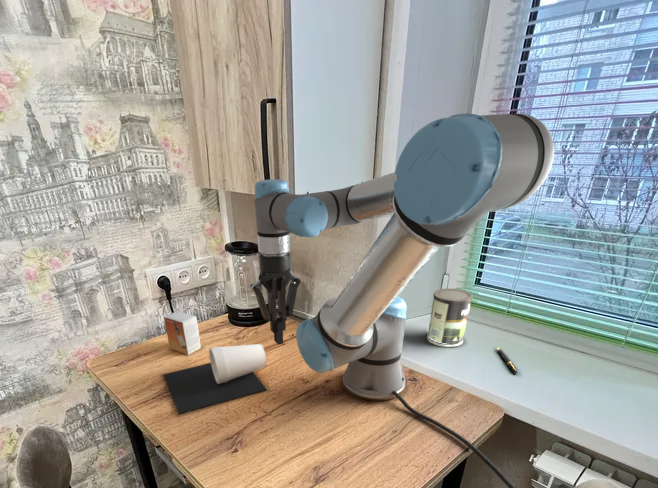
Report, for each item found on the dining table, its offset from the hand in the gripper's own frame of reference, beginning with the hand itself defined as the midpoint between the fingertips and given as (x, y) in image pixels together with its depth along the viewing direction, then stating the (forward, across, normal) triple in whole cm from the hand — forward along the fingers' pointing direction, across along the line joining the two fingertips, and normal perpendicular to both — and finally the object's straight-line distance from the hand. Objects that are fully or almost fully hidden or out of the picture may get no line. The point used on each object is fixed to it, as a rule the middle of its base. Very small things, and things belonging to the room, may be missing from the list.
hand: (278, 342), depth 110 cm
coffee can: (+7, -50, +9) cm, 51 cm away
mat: (+7, +19, 0) cm, 20 cm away
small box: (+8, +21, -23) cm, 32 cm away
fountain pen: (+7, -55, +27) cm, 62 cm away
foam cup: (+2, +5, +2) cm, 6 cm away
